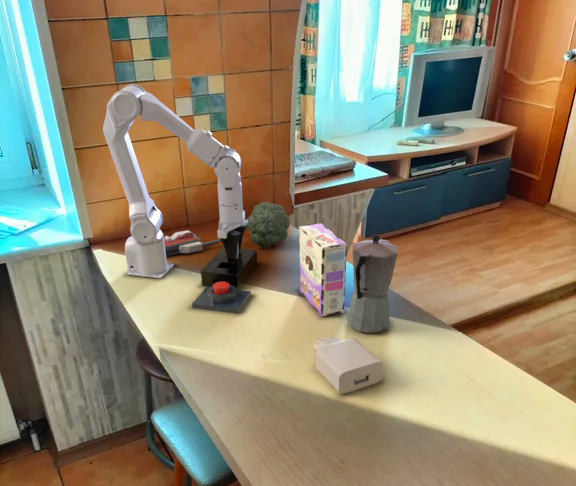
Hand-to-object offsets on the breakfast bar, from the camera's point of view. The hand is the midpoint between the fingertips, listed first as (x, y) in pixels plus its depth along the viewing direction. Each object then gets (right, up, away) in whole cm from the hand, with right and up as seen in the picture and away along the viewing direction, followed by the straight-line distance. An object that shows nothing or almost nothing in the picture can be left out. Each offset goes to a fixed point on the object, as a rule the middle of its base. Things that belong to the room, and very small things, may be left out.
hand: (233, 254), depth 148 cm
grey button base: (-1, -12, -13) cm, 18 cm away
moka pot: (+31, -18, -23) cm, 42 cm away
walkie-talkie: (-14, +3, +15) cm, 20 cm away
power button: (-1, -10, -14) cm, 17 cm away
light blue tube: (0, -2, +1) cm, 2 cm away
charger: (+23, -26, -36) cm, 50 cm away
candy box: (+21, -12, -13) cm, 28 cm away
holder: (-1, -5, -1) cm, 5 cm away
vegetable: (+7, +5, +18) cm, 20 cm away
